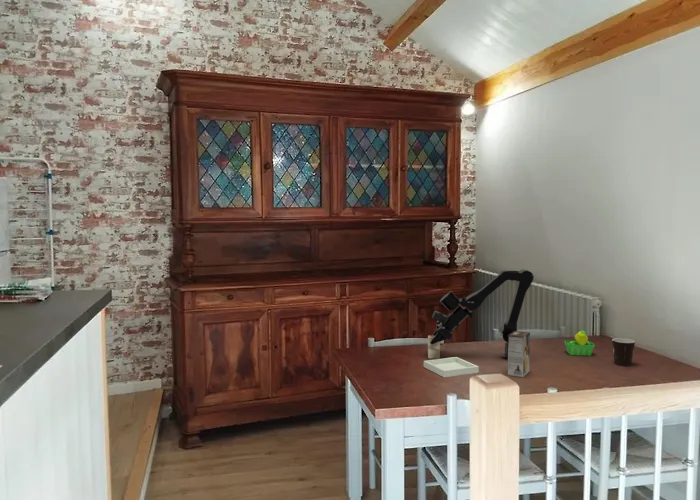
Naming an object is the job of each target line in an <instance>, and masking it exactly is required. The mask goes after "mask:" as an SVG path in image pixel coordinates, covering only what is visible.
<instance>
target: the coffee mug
mask: <svg viewBox="0 0 700 500" xmlns="http://www.w3.org/2000/svg"><path fill="white" fill-rule="evenodd" d="M611 341H612V352H613V353H612V354H613V362H614V365H616V366H620V367H630V366H632V363H633V358H634V357H633V356H634V350H635V345H636V341H635V340H634V339H630V338H624V337H615V338H612V339H611Z"/></svg>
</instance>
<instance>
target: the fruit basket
mask: <svg viewBox="0 0 700 500" xmlns="http://www.w3.org/2000/svg"><path fill="white" fill-rule="evenodd" d="M564 344H565V349H566V353H568V354H569V355H570V356H592V354H593V351H594V348H595V343H593V342H591V341H589V337H588V336H587V332H586V331H585V330H580V331H578V332H577V333H576V334H575V335H574V340H564Z"/></svg>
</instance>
